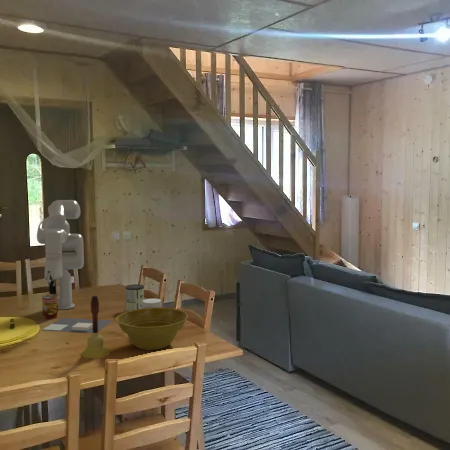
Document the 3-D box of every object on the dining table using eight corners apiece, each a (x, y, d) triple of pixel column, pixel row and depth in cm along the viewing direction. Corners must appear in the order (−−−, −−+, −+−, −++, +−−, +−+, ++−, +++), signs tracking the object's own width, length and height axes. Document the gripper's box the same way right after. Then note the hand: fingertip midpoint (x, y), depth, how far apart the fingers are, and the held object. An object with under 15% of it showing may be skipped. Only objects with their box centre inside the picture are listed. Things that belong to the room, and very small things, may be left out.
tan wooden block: (49, 298, 250) (49, 274, 249) (53, 296, 254) (52, 273, 253) (56, 298, 250) (56, 274, 249) (59, 297, 253) (59, 273, 252)
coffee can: (128, 308, 295) (128, 284, 294) (146, 308, 294) (146, 284, 293) (123, 312, 285) (123, 287, 284) (141, 313, 284) (141, 288, 283)
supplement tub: (158, 325, 261) (158, 297, 259) (164, 330, 252) (164, 301, 251) (140, 328, 256) (139, 299, 255) (145, 333, 248) (145, 303, 247)
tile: (78, 326, 256) (71, 330, 249) (78, 322, 256) (71, 326, 249) (93, 327, 255) (87, 331, 248) (93, 323, 254) (87, 327, 248)
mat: (41, 331, 249) (41, 330, 249) (62, 319, 271) (62, 318, 271) (95, 334, 245) (95, 333, 245) (112, 322, 267) (112, 320, 267)
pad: (42, 330, 250) (42, 329, 250) (51, 324, 259) (51, 324, 258) (59, 331, 248) (59, 330, 248) (68, 325, 257) (68, 324, 257)
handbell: (77, 358, 214) (76, 299, 212) (85, 348, 226) (84, 292, 224) (106, 358, 214) (105, 299, 212) (113, 348, 226) (112, 292, 224)
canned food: (43, 321, 268) (42, 298, 267) (42, 317, 275) (41, 295, 274) (58, 319, 271) (58, 297, 270) (57, 315, 278) (57, 294, 277)
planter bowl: (101, 351, 222) (100, 321, 220) (140, 331, 251) (139, 304, 250) (167, 362, 210) (167, 330, 209) (199, 339, 240) (199, 311, 238)
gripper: (54, 253, 259) (55, 289, 260) (38, 258, 242) (39, 296, 244) (68, 253, 258) (69, 289, 259) (52, 258, 241) (53, 297, 243)
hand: (54, 292), depth 252 cm, fingers closed on tan wooden block, 3 cm apart
